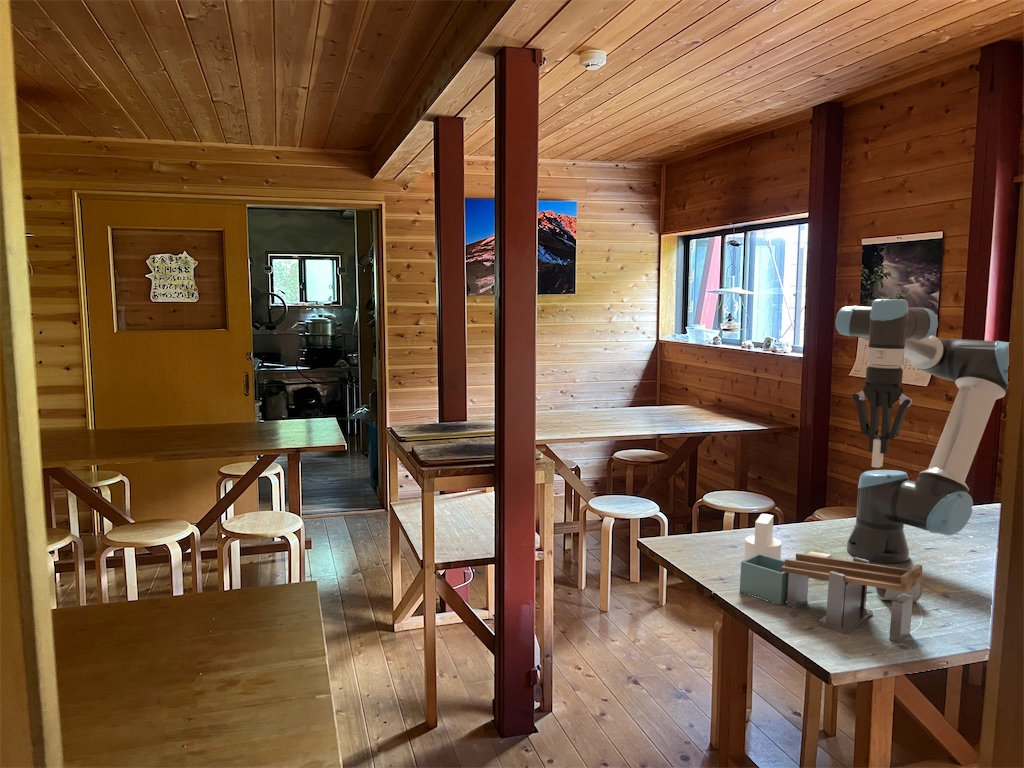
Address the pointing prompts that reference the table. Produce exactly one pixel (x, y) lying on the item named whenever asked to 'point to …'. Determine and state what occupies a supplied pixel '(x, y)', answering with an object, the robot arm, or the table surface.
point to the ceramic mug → (900, 592)
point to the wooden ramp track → (854, 571)
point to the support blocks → (850, 604)
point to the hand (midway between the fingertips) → (877, 466)
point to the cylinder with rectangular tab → (763, 539)
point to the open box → (764, 578)
